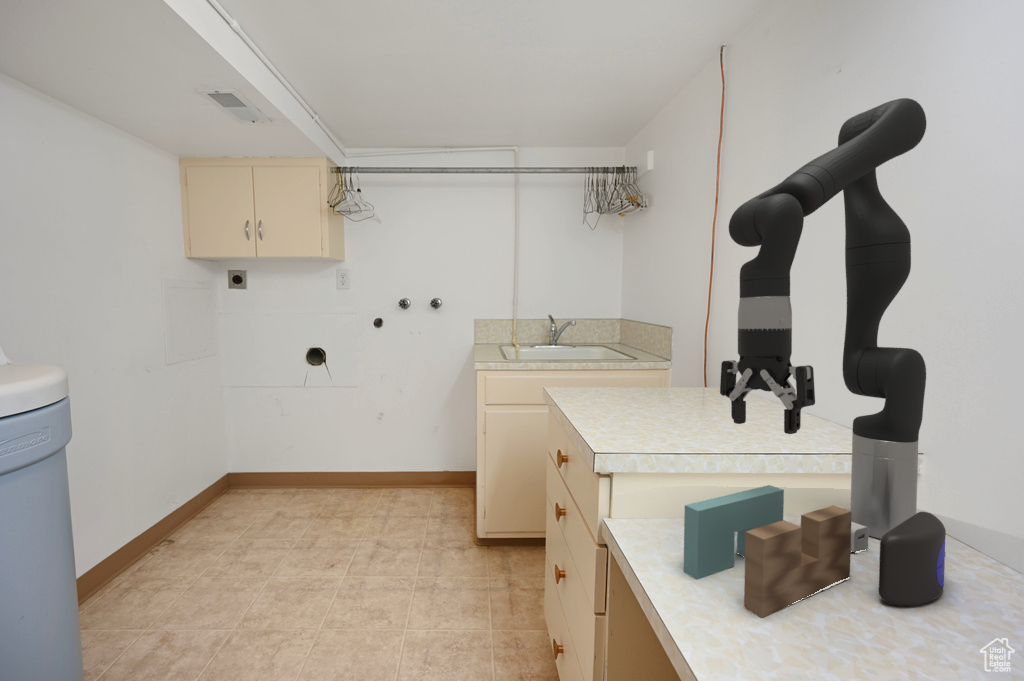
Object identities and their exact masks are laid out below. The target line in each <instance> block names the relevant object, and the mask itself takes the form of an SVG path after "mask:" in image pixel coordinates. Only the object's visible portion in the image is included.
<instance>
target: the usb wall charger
mask: <svg viewBox="0 0 1024 681" xmlns="http://www.w3.org/2000/svg"><path fill="white" fill-rule="evenodd" d="M869 540H870V539H869V529H868V527H866V526H863V525H860V524H857V523H854V522H851V551H852V552H856V551H860V550H865V549H866V551H868V549H869ZM852 552H851V553H852Z"/></svg>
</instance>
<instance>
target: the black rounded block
mask: <svg viewBox="0 0 1024 681" xmlns="http://www.w3.org/2000/svg"><path fill="white" fill-rule="evenodd" d="M946 555H947V554H946V528H945V526H944V523H942V521H941V520H940V519H939V518H938V517H937V516H935V515H934V514H932V513H931V512H927V511H919V512H916V514H915V515H914V516H912V517H910V518H909V519H907V520H906V521H904V522H903V523H901V524H899V525H898V526H896V527H895V528H893V529H892V530H890V531H888V532H887V533H885V534H884V535H883V537H882V539H880V542H879V562H878V564H879V566H878V568H879V572H878V594H879V596H880V598H881V600H882V601H884V602H886V603H887V604H889V605H893V606H898V607H905V606H906V607H907V606H908V607H910V606H911V605H912V606H918V605H923V604H926V603H930V602H933V601H934V600H936V599H937V598H939V596H940V595H942V593H943V591H944V588H945V587H944V586H945V564H946V563H945V562H946V560H945V558H946Z"/></svg>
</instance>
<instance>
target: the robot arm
mask: <svg viewBox="0 0 1024 681" xmlns="http://www.w3.org/2000/svg"><path fill="white" fill-rule="evenodd" d="M926 131H927V117H926V112H925V111H924V108H923V107H922V105H921V104H920V103H919V102H918V101H917V100H914V99H912V98H909V97H903V98H897V99H893V100H889V101H887V102H885V103H882V104H880V105H878V106H875V107H873V108H870V109H867V110H866V111H863V112H860V113H857V114H856V115H854V116H852V117H850V118H848V119H846V121H844V123H843V124H842V125H841V127H840V130H839V132H838V138H837V147H835V148H834V149H831V150H829V151H827V152H825V153H824V154H821V155H819V156H818V157H816V158H814V159H812V160H811V161H808V162H807V163H805V164H804V165H802V166H801V167H800V168H799V169H797V170H796V171H794V172H793V173H791V174H790V175H788V176H787V177H786V178H785V179H783V181H781V182H779V183H778V184H776V185H774V186H773V187H771V188H769V189H767V190H765V191H763V192H761V193H760V194H758V195H756V196H754V197H752V198H751V199H749V200H747V201H745V202H744V203H742V204H741V205H739V207H737V209H736V210H735V211H733V214H732V215H731V217H730V219H729V223H728V233H729V236H730V238H731V240H733V242H734V243H736V244H737V245H738V246H741V247H745V248H750V247H751V248H754V247H759V246H760V247H759V251H758V253H757V255H756V256H755V257H754V258H753V259H750V260H748V261H747V262H745V263H743V264H742V266H741V267H740V270H739V299H738V300H739V302H738V309H737V354H738V356H739V360H738V361H736V360H733V359H732V360H730V359H729V360H723V361H721V363H720V364H721V366H720V368H721V369H720V382H719V383H720V384H719V393H720V395H721V396H723V397H724V396H725V397H726V398H729V400H730V402H731V408H730V409H731V419H732V420H733V423H734V424H738V425H742V424H745V423H746V421H747V401H746V400H744V399H746V397H747V396H748V394H749V393H750V392H752V391H753V390H755V391H756V390H761V391H765V392H768V393H770V392H772V393H773V394H774V395H775V397H777V398H779V400H780V401H781V403H782V404H783V406H784V407H785V409H784V410H783V416H784V417H783V420H784V421H783V432H784V433H785V434H787V435H794V434H797V433H798V431H800V429H801V427H802V426H801V425H802V423H801V415H802V413H801V412H802V411H801V410H802V409H803V408H805V407H811V406H814V405H815V403H816V395H815V390H816V389H815V374H814V373H815V372H814V367H813V366H812V365H810V364H807V365H799V366H794V365H792V362H791V357H792V353H793V352H792V350H793V349H792V348H793V347H792V346H793V342H792V341H793V338H792V336H793V311H792V310H793V309H792V303H791V269H792V266H793V262H794V260H795V256H796V253H797V250H798V246H799V244H800V240H801V236H802V233H803V229H804V221H805V219H804V218H806V217H808V216H810V215H811V214H813V213H815V212H816V211H817V210H818V209H820V208H821V207H822V206H824V205H825V204H826V203H828V202H829V201H830V200H831V199H833V198H834V197H835V196H837V195H838V194H839V193H840V192H843V203H844V204H843V206H844V222H845V224H844V227H845V229H844V230H845V232H844V233H845V239H844V242H845V244H844V257H845V258H844V261H845V279H846V283H845V284H846V285H845V286H846V316H845V318H846V320H845V331H844V332H845V333H844V341H843V342H844V343H843V353H842V354H843V355H842V377H843V381H844V385H845V386H846V389H847V390H848V391H849V392H850V393H852V394H854V395H856V396H857V395H858V396H863V397H870V398H876V399H884V406H883V408H882V410H880V411H879V412H876V413H873V414H866V415H865V414H864V415H861V416H860V415H858V416H856V417H855V418H854V419H853V420H852V432H851V433H852V438H851V439H852V441H851V477H850V478H851V480H850V481H851V482H850V483H851V484H850V508H849V511H852V516H851V522H854V523H857V524H860V525H863V526H866V527H868V529H869V536H870V537H872V538H876V539H880V540H881V539H882V537H883V535H884V534H885V533H887V532H888V531H890V530H892V529H893V528H895V527H896V526H898V525H899V524H901V523H903V522H904V521H906V520H907V519H909V518H910V517H912V516H914V515H915V514H917V502H918V472H919V471H918V468H919V467H918V466H919V435H920V434H919V433H920V429H921V426H922V423H923V414H924V404H925V394H926V384H927V382H926V381H927V366H926V362H925V360H924V359H925V358H923V355H922V354H921V353H920V352H919V351H918V350H916V349H913V348H909V347H889V346H887V347H885V346H878V336H879V328H880V323H881V320H882V318H883V316H884V314H885V312H886V310H887V309H888V308H889V306H890V305H891V304H892V303H893V301H894V299H895V298H896V296H897V295H898V294H899V293H900V291H901V289H902V288H903V287H904V285H905V283H906V282H907V280H908V278H909V275H910V273H911V269H912V267H911V266H912V250H911V249H912V244H911V243H912V241H911V233H910V232H911V231H910V230H909V228H908V227H907V225H906V223H905V221H903V219H902V218H901V217H900V216H899V214H898V213H897V212H896V211H895V210H894V209H893V208H892V207H891V206H890V204H888V202H887V201H886V200H885V198H884V197H883V195H882V194H881V192H880V189H879V185H878V179H877V168H878V167H880V166H882V165H883V164H885V163H887V162H889V161H891V160H893V159H895V158H896V157H899V156H901V155H904V154H906V153H908V152H910V151H911V150H913V149H914V148H916V147H917V146H918V144H920V142H922V140H923V138H924V136H925V133H926ZM738 372H739V374H740V376H741V377H740V378H739V380H738V381H737V373H738ZM791 376H792V378H793V379H794V381H795V387H796V388H795V387H794V386H793V384H792V383H791V381H790V377H791Z"/></svg>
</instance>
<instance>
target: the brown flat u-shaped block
mask: <svg viewBox="0 0 1024 681" xmlns="http://www.w3.org/2000/svg"><path fill="white" fill-rule="evenodd" d="M851 516H852V511H850V509H846V508H842V507H840V506H836V505H830V506H829V505H828V506H826V507H823V508H819V509H816V510H813V511H809V512H806V513H803V514H800V525H798V524H794V523H792V522H790V521H786V520H784V519H783V520H782V521H779V522H776V523H772V524H769V525H766V526H762V527H759V528H756V529H752V530H749V531H746V536H745V557H744V588H743V589H744V590H743V592H744V593H743V594H744V595H743V608H744V607H745V609H747V610H748V611H750V612H751V613H753V614H754V615H756V616H758V617H760V618H762V619H763V618H765V617H768V616H770V615H772V614H774V612H775V613H777V612H779V611H781V610H783V608H784V607H786V606H788V605H790V604H792V603H794V602H796V601H798V600H801V599H802V598H805V597H807V596H809V595H811V594H814V593H815V592H817V591H819V590H820V589H823V588H825V587H827V586H829V585H831V584H833V583H835V582H838V581H840V580H843V579H846V578H848V577H850V578H851V554H852V552H851ZM790 606H791V605H790ZM788 607H789V606H788ZM786 608H787V607H786ZM784 609H785V608H784Z"/></svg>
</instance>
